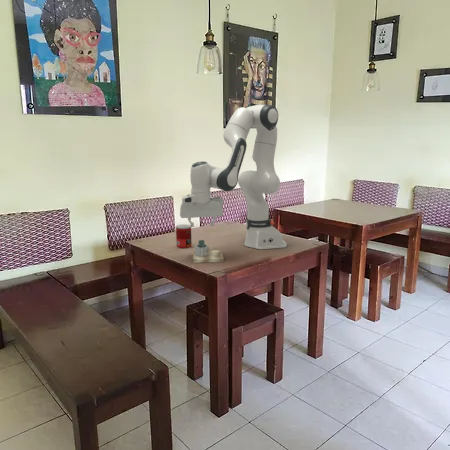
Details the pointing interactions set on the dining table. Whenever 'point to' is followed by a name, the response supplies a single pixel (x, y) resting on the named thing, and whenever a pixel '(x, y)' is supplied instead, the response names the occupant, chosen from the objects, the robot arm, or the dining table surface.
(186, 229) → the canned food
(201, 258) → the green peg on board
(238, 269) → the dining table surface
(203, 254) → the grey segmented ring
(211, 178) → the robot arm
